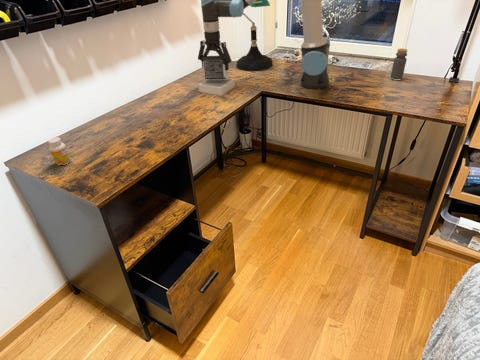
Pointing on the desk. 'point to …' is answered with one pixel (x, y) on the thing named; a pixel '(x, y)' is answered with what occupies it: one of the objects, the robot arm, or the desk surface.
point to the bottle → (399, 64)
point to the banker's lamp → (254, 48)
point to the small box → (213, 67)
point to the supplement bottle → (59, 151)
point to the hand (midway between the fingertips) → (215, 75)
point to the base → (216, 86)
